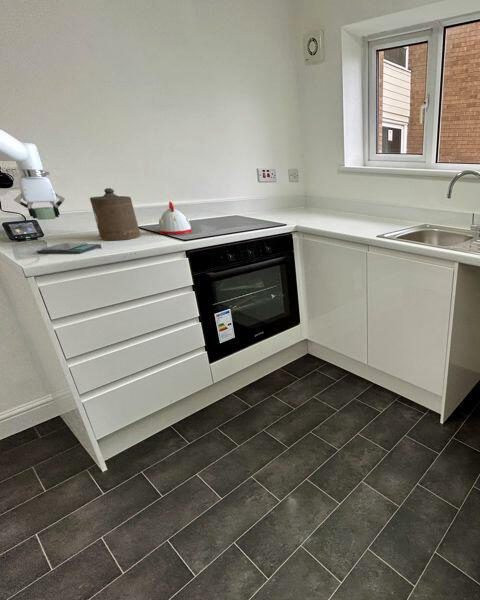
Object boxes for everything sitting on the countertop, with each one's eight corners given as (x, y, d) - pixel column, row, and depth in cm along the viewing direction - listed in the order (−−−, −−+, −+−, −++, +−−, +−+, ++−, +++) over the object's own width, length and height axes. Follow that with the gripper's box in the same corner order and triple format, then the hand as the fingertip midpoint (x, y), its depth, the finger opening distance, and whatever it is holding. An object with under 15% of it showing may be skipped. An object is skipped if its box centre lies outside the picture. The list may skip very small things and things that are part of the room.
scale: (38, 257, 128) (36, 249, 127) (63, 249, 139) (61, 242, 138) (81, 257, 130) (78, 249, 129) (102, 250, 141) (100, 242, 140)
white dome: (162, 235, 170) (155, 204, 164) (158, 231, 179) (151, 201, 174) (194, 233, 178) (188, 202, 172) (189, 229, 188) (183, 200, 182)
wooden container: (115, 234, 170) (102, 186, 162) (147, 234, 171) (136, 187, 163) (92, 240, 156) (77, 189, 148) (127, 241, 157) (114, 190, 149)
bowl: (31, 219, 150) (28, 208, 149) (44, 217, 156) (40, 207, 155) (48, 219, 151) (45, 209, 149) (60, 217, 157) (57, 207, 155)
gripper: (58, 174, 156) (69, 215, 162) (1, 173, 143) (16, 218, 149) (62, 175, 152) (74, 216, 158) (3, 174, 139) (19, 220, 145)
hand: (45, 217), depth 153 cm, fingers closed on bowl, 6 cm apart
